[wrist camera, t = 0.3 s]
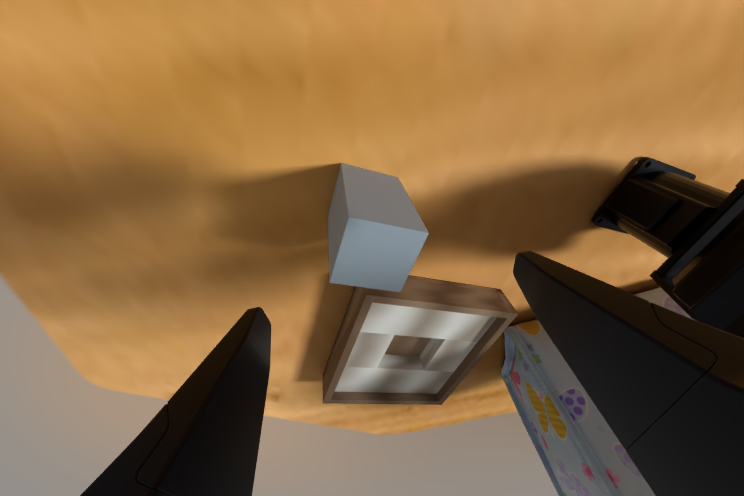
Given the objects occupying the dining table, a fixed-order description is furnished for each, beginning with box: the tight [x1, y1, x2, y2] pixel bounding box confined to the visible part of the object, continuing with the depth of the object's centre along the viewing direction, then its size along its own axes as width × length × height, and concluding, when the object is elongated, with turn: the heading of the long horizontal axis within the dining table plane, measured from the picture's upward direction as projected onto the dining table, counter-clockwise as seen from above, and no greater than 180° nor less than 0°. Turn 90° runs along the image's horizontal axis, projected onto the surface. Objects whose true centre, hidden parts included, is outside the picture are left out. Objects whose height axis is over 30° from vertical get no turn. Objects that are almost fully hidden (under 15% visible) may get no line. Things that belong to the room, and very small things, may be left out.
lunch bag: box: [501, 288, 694, 496], centre depth 28 cm, size 22×17×26 cm
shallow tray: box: [323, 275, 518, 405], centre depth 32 cm, size 16×18×4 cm
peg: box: [328, 163, 429, 292], centre depth 19 cm, size 4×4×8 cm
